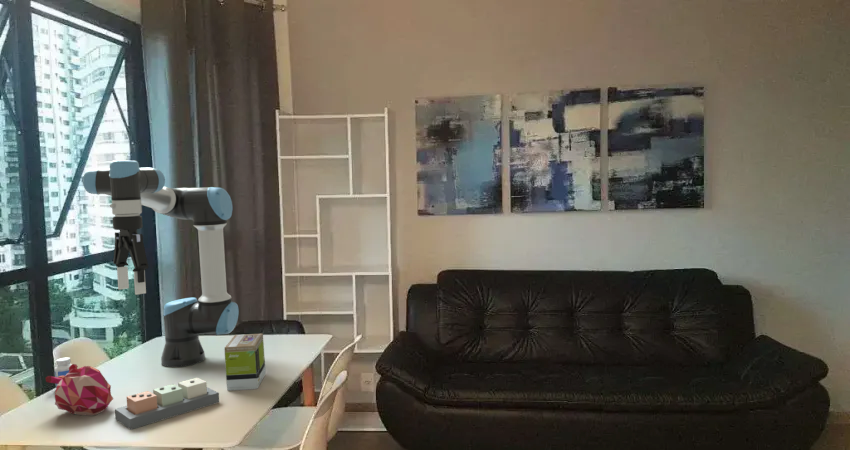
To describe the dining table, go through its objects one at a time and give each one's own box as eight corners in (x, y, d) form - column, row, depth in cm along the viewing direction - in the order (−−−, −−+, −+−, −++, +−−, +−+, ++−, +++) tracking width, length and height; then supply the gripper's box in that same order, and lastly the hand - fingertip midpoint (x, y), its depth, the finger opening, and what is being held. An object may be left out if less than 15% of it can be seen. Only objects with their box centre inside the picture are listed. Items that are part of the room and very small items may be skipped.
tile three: (127, 410, 172) (126, 395, 172) (148, 404, 177) (147, 389, 176) (135, 415, 168) (134, 400, 168) (157, 409, 173) (156, 394, 172)
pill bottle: (78, 386, 201) (76, 357, 200) (64, 391, 196) (62, 362, 195) (66, 384, 203) (64, 356, 202) (52, 389, 198) (49, 360, 197)
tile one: (178, 395, 183) (178, 381, 183) (197, 390, 188) (197, 376, 187) (187, 400, 179) (187, 386, 179) (207, 394, 184) (206, 380, 183)
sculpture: (130, 401, 184) (86, 371, 191) (120, 377, 176) (75, 346, 183) (90, 436, 175) (45, 403, 181) (78, 412, 166) (31, 378, 173)
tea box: (236, 375, 208) (234, 333, 207) (266, 374, 209) (264, 332, 208) (226, 391, 193) (223, 346, 192) (258, 389, 194) (256, 344, 193)
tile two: (153, 402, 178) (153, 388, 177) (173, 396, 182) (173, 382, 182) (162, 407, 174) (161, 393, 173) (183, 401, 178) (182, 387, 178)
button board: (115, 419, 172) (114, 408, 172) (202, 393, 191) (201, 384, 191) (130, 429, 165) (129, 419, 165) (219, 402, 184) (218, 392, 184)
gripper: (97, 214, 176) (102, 288, 178) (130, 217, 160) (135, 298, 162) (124, 213, 182) (129, 284, 184) (158, 215, 166) (163, 294, 167)
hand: (131, 291), depth 173 cm, fingers open, 11 cm apart
